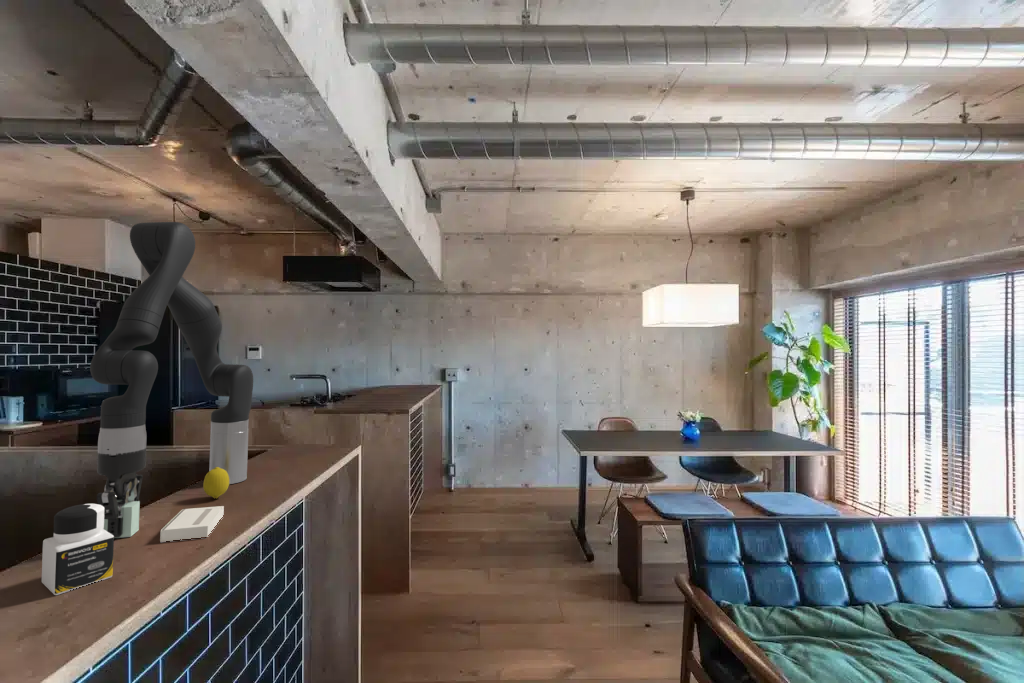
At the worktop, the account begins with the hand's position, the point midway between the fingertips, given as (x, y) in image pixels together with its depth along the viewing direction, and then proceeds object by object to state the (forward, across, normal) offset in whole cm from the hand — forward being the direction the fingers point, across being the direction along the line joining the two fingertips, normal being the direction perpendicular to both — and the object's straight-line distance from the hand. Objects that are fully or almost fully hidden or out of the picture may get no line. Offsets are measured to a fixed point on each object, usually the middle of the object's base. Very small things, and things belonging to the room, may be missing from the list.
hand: (119, 532), depth 92 cm
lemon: (+1, -20, +12) cm, 23 cm away
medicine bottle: (+1, +19, +2) cm, 19 cm away
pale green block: (0, 0, 0) cm, 0 cm away
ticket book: (+1, 0, +13) cm, 13 cm away
